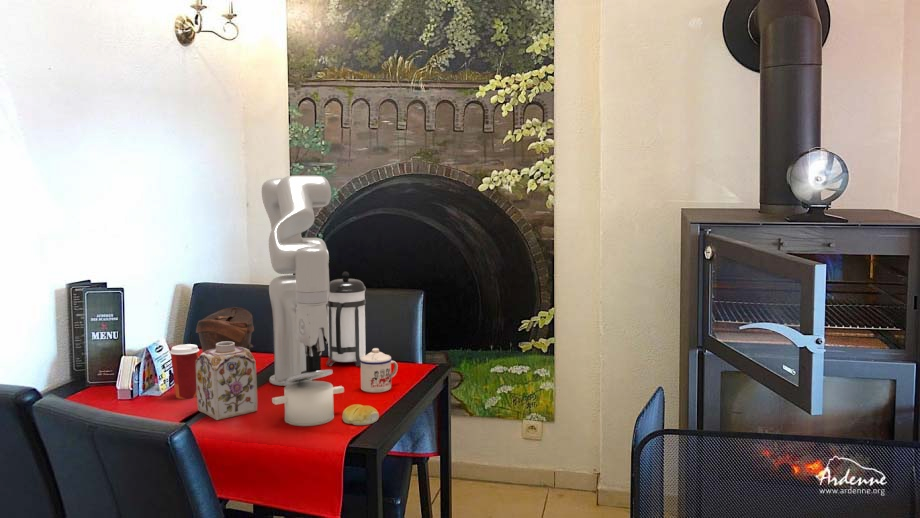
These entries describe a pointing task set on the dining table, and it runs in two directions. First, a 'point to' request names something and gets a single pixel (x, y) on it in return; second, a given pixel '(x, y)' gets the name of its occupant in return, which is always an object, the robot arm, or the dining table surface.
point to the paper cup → (184, 370)
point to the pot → (308, 402)
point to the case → (226, 328)
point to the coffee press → (346, 321)
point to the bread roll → (360, 415)
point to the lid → (307, 376)
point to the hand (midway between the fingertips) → (313, 370)
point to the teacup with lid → (376, 371)
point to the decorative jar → (226, 381)
